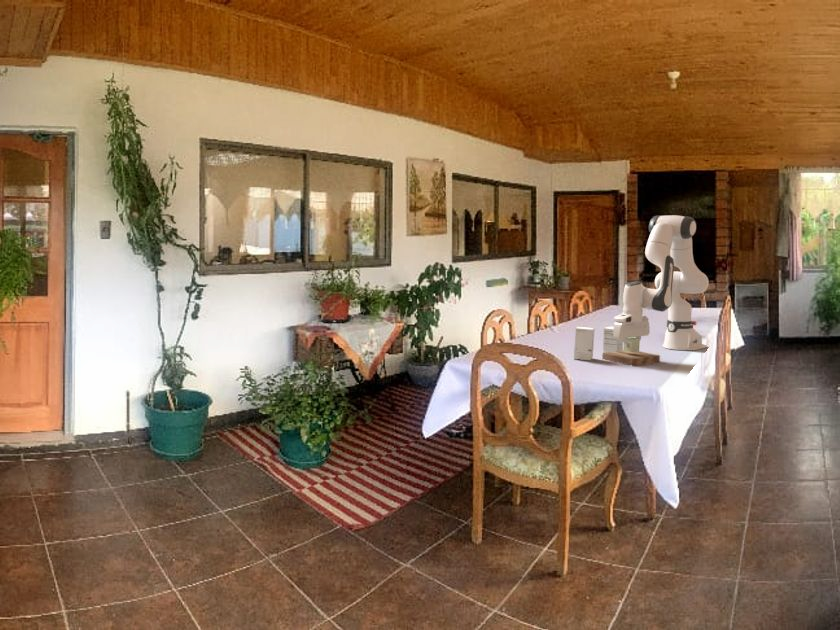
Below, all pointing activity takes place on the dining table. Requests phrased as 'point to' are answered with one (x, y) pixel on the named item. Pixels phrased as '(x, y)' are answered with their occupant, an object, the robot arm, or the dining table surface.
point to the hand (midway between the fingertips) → (631, 346)
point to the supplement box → (611, 341)
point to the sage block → (632, 345)
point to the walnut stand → (631, 357)
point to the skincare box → (584, 343)
